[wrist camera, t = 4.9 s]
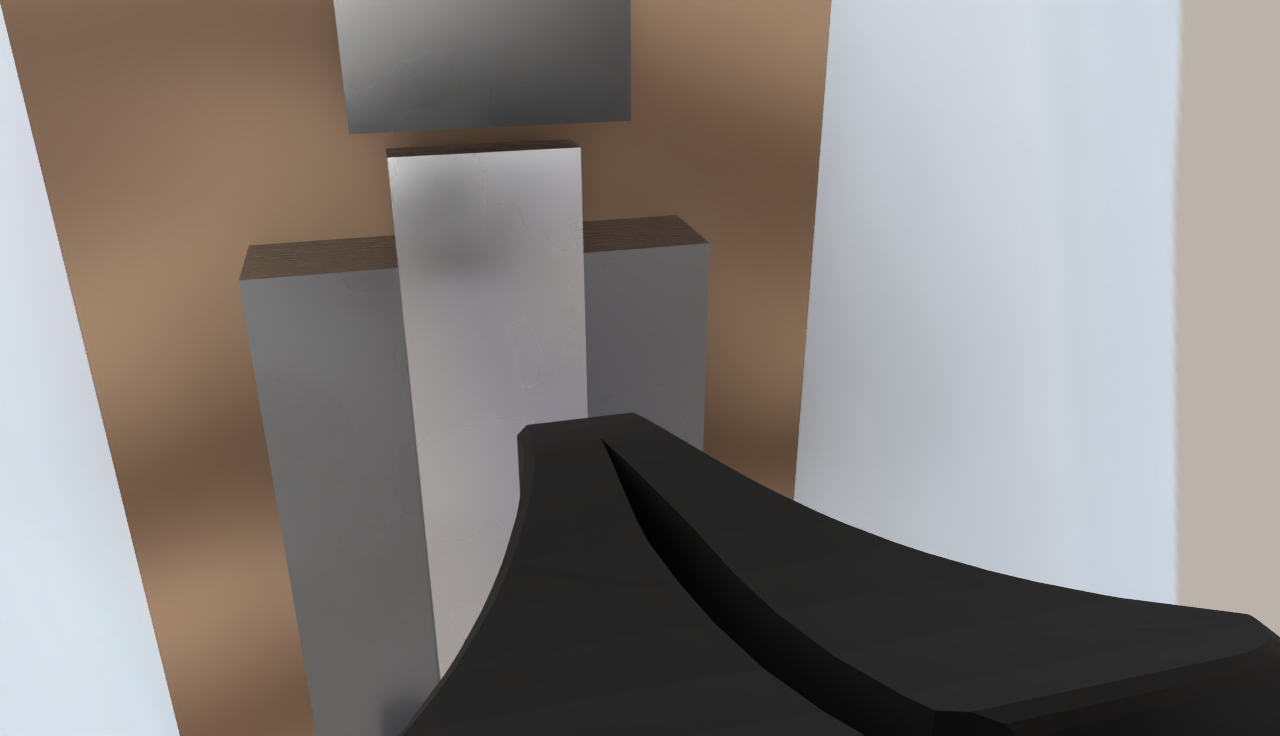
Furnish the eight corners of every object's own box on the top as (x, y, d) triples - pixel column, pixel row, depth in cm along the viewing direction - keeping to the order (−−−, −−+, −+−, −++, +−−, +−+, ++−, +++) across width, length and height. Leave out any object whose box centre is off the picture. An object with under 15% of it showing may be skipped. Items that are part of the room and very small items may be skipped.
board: (753, 716, 28) (774, 755, 26) (221, 824, 24) (214, 876, 23) (802, -61, 20) (835, -60, 18) (14, -61, 16) (-15, -60, 15)
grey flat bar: (589, 759, 22) (603, 805, 21) (450, 788, 21) (457, 837, 20) (570, 139, 16) (587, 153, 15) (385, 148, 16) (389, 164, 15)
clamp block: (668, 675, 24) (723, 802, 21) (330, 739, 22) (327, 891, 19) (680, -36, 18) (764, -27, 14) (202, -33, 16) (162, -21, 12)
